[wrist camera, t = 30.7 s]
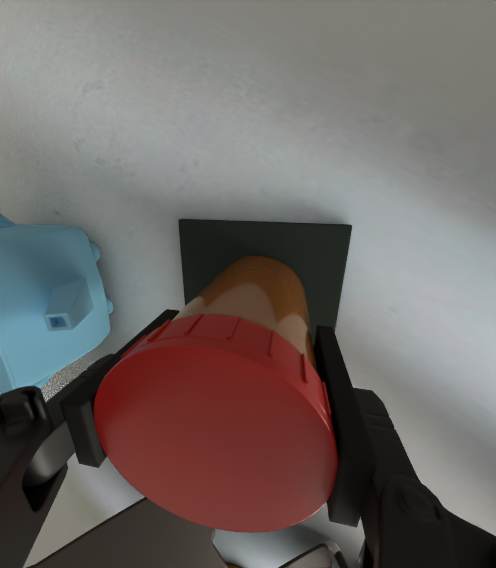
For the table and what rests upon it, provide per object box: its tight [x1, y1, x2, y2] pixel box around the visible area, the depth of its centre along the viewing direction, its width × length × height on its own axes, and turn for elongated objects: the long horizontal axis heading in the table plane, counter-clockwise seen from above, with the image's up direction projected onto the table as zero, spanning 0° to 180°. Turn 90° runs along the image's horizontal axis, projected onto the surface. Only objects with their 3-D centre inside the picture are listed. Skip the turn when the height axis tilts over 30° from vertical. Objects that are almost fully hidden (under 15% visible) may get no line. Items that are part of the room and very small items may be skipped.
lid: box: [94, 313, 339, 533], centre depth 8 cm, size 8×8×2 cm
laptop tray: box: [27, 497, 349, 568], centre depth 24 cm, size 23×23×9 cm
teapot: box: [0, 213, 113, 395], centre depth 16 cm, size 18×14×10 cm
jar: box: [171, 256, 318, 374], centre depth 13 cm, size 7×7×11 cm
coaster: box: [179, 219, 352, 345], centre depth 18 cm, size 12×12×1 cm
